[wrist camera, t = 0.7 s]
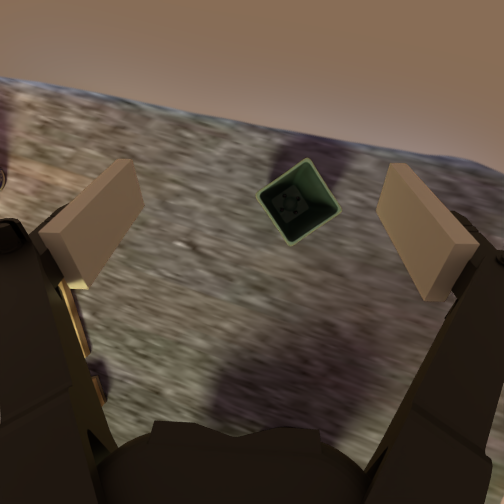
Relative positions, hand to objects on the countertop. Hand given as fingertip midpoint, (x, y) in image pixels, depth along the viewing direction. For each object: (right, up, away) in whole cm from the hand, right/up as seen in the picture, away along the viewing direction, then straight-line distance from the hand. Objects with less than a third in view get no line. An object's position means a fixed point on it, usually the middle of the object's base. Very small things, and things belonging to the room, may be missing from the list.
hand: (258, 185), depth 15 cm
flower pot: (+6, +4, +33) cm, 34 cm away
